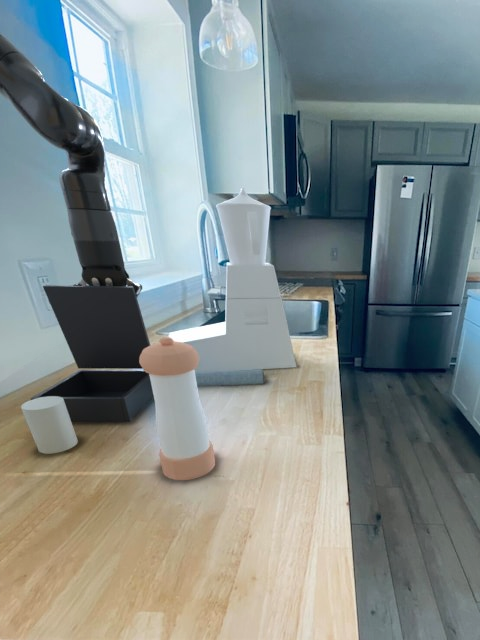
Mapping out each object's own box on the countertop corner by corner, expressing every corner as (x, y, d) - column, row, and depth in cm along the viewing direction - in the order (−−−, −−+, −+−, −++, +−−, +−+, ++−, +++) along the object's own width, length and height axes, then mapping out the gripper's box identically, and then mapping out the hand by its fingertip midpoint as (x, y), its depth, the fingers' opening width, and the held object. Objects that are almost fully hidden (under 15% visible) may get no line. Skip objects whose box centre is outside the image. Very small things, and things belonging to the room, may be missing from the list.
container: (32, 458, 55) (11, 409, 52) (52, 441, 60) (35, 396, 56) (67, 457, 56) (50, 409, 52) (85, 441, 60) (70, 396, 56)
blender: (161, 377, 88) (121, 176, 69) (170, 356, 103) (140, 187, 85) (297, 370, 95) (294, 186, 76) (286, 351, 111) (281, 195, 92)
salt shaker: (188, 488, 49) (161, 348, 40) (152, 473, 52) (119, 339, 43) (226, 463, 55) (209, 335, 46) (191, 451, 58) (169, 328, 49)
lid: (132, 287, 66) (142, 278, 70) (42, 286, 65) (59, 277, 70) (155, 368, 76) (163, 356, 80) (78, 368, 75) (90, 356, 80)
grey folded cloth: (160, 391, 80) (157, 376, 79) (166, 381, 86) (163, 367, 84) (264, 386, 84) (263, 372, 82) (263, 376, 90) (262, 363, 88)
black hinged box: (131, 425, 65) (124, 398, 63) (40, 426, 64) (30, 398, 62) (161, 393, 79) (156, 369, 77) (87, 393, 78) (79, 369, 76)
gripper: (140, 239, 72) (157, 328, 80) (71, 238, 71) (95, 327, 80) (124, 239, 66) (144, 336, 74) (47, 237, 65) (76, 335, 73)
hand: (119, 331), depth 77 cm, fingers closed
